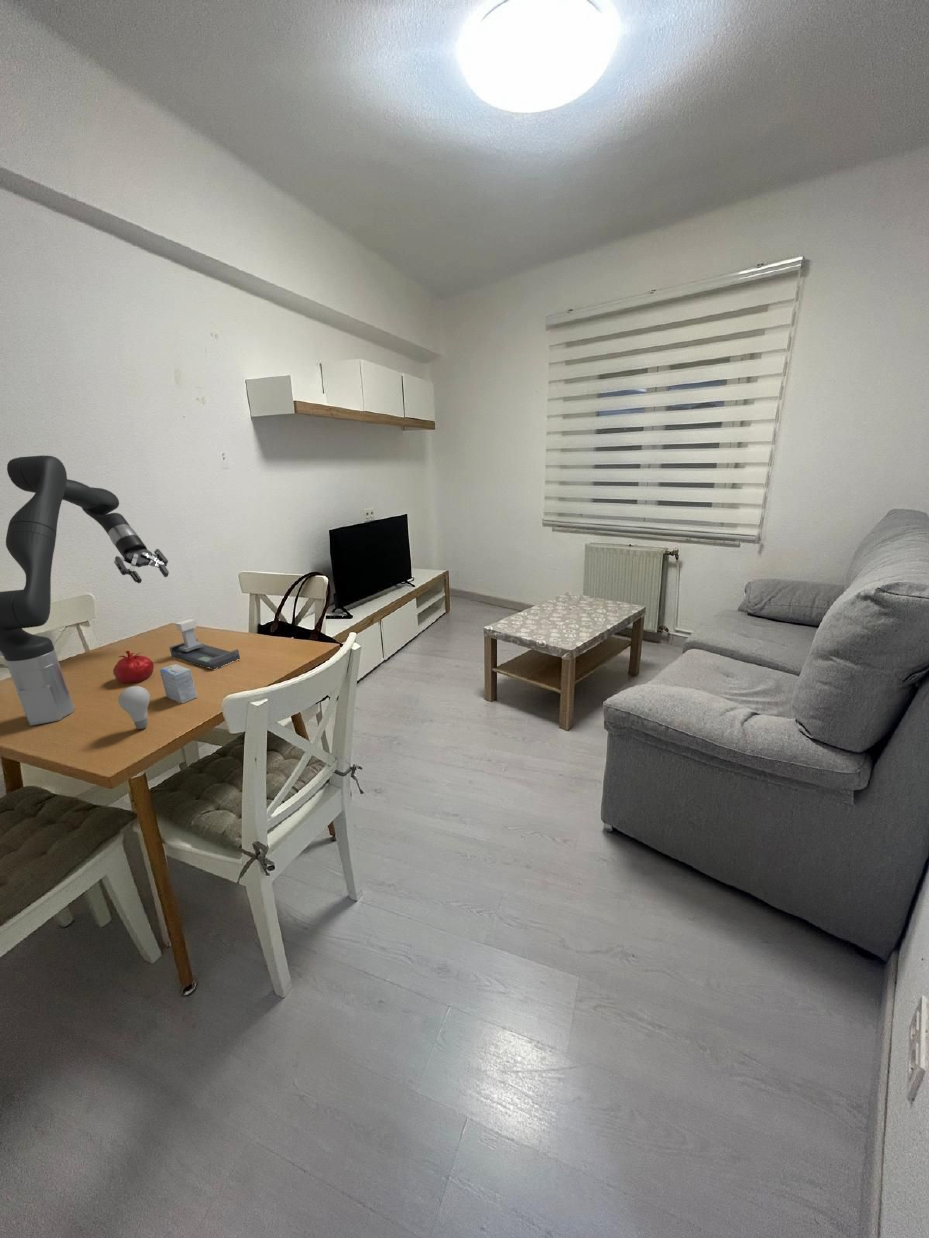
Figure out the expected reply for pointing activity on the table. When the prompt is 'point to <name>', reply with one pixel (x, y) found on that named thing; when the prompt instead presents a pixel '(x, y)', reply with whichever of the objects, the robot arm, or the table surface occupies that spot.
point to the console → (205, 655)
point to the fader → (188, 635)
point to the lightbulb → (136, 704)
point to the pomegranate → (133, 668)
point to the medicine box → (178, 683)
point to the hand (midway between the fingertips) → (153, 578)
